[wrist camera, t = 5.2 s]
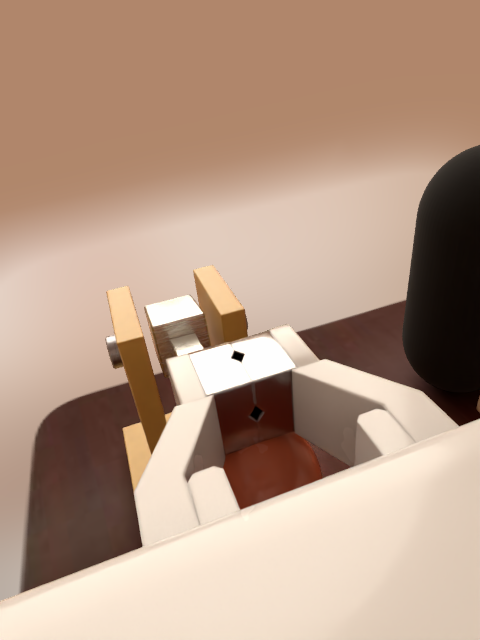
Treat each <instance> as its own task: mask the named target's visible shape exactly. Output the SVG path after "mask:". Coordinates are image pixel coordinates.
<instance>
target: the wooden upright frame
mask: <svg viewBox="0 0 480 640" xmlns="http://www.w3.org/2000/svg"><path fill="white" fill-rule="evenodd" d="M193 272H194V278H195V283H196V290H197V295H198V301H199V307H200V308H201V310H202V311H203V312H204V314H205V318H206V323H207V327H208V332H209V337H210V342H211V347H212V346H216V345H219V344H223V343H227V342H232V341H235V340H238V339H242V338H245V337H248V335H247V329H248V323H247V318H246V314H245V309H244V308H243V306H242V305H241V303H240V302H239V301H238V299H237V298H236V296H235V295H234V294H233V292H232V291H231V289H230V288H229V287H228V285H227V284H226V283H225V281H224V280H223V278H222V277H221V275H220V274H219V273H218V271H217V270H216V269H215V267H214V266H213V265H211V266H207V267H203V268H199V269H195V270H193ZM106 293H107V298H108V302H109V307H110V312H111V318H112V323H113V327H114V333H115V335H112V336H108V337H106V344H107V349H108V352H109V356H110V359H111V362H112V365H113V368H115V369H116V368H120V367H123V366H124V369H125V372H126V375H127V378H128V382H129V385H130V388H131V391H132V395H133V398H134V401H135V404H136V407H137V411H138V414H139V417H140V420H141V423H137V424H134V425H131V426H128V427H125V428H123V434H124V439H125V445H126V451H127V457H128V463H129V468H130V474H131V480H132V486H133V492H134V491H135V489H136V487H137V485H138V483H139V480H140V478H141V476H142V474H143V472H144V470H145V468H146V466H147V464H148V462H149V460H150V457H151V455H152V453H153V451H154V449H155V447H156V445H157V443H158V441H159V439H160V436H161V434H162V432H163V430H164V428H165V426H166V424H167V422H168V420H169V418H170V416H171V413H169V414H166V415H165V414H164V411H163V407H162V403H161V399H160V396H159V392H158V388H157V384H156V381H155V377H154V373H153V369H152V366H151V362H150V358H149V355H148V351H147V347H146V343H145V339H144V336H143V333H142V330H141V326H140V323H139V319H138V316H137V312H136V309H135V306H134V302H133V299H132V296H131V292H130V289H129V287H128V286H125V287H121V288H117V289H113V290H109V291H107V292H106ZM134 498H135V496H134Z"/></svg>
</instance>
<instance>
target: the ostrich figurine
mask: <svg viewBox="0 0 480 640" xmlns="http://www.w3.org/2000/svg"><path fill="white" fill-rule="evenodd" d="M476 409H477V411H478V412H479V413H480V397H479V401H478V404H477V408H476Z"/></svg>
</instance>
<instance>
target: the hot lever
mask: <svg viewBox="0 0 480 640" xmlns="http://www.w3.org/2000/svg"><path fill="white" fill-rule="evenodd" d="M144 309H145V313H146V317H147V321H148V324H149V328H150V332H151V336H152V340H153V343H154V347H155V351H156V354H157V357H158V360H159V363H160V365H161V368H162V371H163V374H164V377H165V378H168V377H169V373H168V369H167V364H166V359H169V358H172V357H176V356H179V355H183V354H186V353H187V354H188V353H190V352H193V351H197V350H201V349H204V348H208V347H211V342H210V337H209V332H208V327H207V323H206V318H205V314H204V312H203V311H202V310H201V308H200V307H199V306H198V304H197V303H196V302H195V300H194V299H193V298H192V296H191V295H187V296H183V297H179V298H175V299H171V300H167V301H164V302H159V303H155V304H152V305H148V306H145V307H144ZM225 457H226V458H225V462H224V467H223V469H224V471H225V474H226V476H227V479H228V481H229V484H230V486H231V488H232V491H233V493H234V496H235V498H236V501H237V503H238V506H239V508H240V510H241V509H244V508H247V507H249V506H252V505H254V504H257V503H260V502H262V501H265V500H268V499H270V498H273V497H275V496H278V495H281V494H283V493H286V492H288V491H291V490H294V489H296V488H299V487H302V486H304V485H307V484H309V483H312V482H315V481H317V480H320V479H323V478H322V473H321V469H320V465H319V462H318V459H317V457H316V455H315V452H314V451H313V449H312V447H311V446H310V444H309V443H308V442H307V440H306V439H304V438H302V437H301V436H299V435H297V434H296V433H295V431H294V432H291V433H288V434H285V435H282V436H278V437H275V438H272V439H269V440H266V441H263V442H260V443H257V444H254V445H252V446H249V447H246V448H244V449H241V450H239V451H236V452H233V453H231V454H228V455H225Z"/></svg>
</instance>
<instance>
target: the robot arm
mask: <svg viewBox="0 0 480 640" xmlns="http://www.w3.org/2000/svg"><path fill="white" fill-rule="evenodd" d="M166 364H167V369H168V373H169V377H170V381H171V385H172V389H173V393H174V397H175V401H176V404H177V406H176V407H174V409H173V411H172V413H171V416H170V418H169V420H168V422H167V424H166V426H165V428H164V430H163V432H162V434H161V436H160V439H159V441H158V443H157V445H156V447H155V449H154V451H153V453H152V455H151V457H150V460H149V462H148V464H147V466H146V468H145V470H144V472H143V474H142V476H141V478H140V480H139V483H138V485H137V487H136V489H135V491H134V496H135V503H136V509H137V515H138V521H139V527H140V533H141V540H142V546H143V547H142V548H139V549H136V550H134V551H131V552H128V553H126V554H123V555H121V556H118V557H115V558H113V559H110V560H107V561H105V562H102V563H100V564H97V565H94V566H92V567H89V568H86V569H84V570H81V571H79V572H76V573H73V574H71V575H68V576H65V577H63V578H60V579H58V580H55V581H52V582H50V583H47V584H44V585H42V586H39V587H37V588H34V589H31V590H29V591H26V592H23V593H21V594H18V595H16V596H13V597H10V598H8V599H5V600H2V601H0V640H480V419H478V420H475V421H472V422H470V423H467V424H465V425H462V426H458V425H457V424H456V423H455V422H454V421H453V420H452V419H451V418H450V417H449V416H448V415H447V414H446V413H445V412H443V411H442V410H441V409H440V408H439V407H438V406H437V405H436V404H435V403H434V402H433V401H432V400H431V399H430V398H429V397H428V396H427V395H426V394H425V393H423V392H422V391H419V390H416V389H413V388H410V387H407V386H404V385H401V384H398V383H395V382H392V381H389V380H386V379H383V378H380V377H377V376H374V375H371V374H368V373H365V372H362V371H359V370H356V369H353V368H350V367H347V366H344V365H341V364H338V363H335V362H332V361H329V360H326V359H324V360H321V361H320V360H319V359H318V358H317V357H316V356H315V355H314V353H313V352H312V351H311V350H310V349H309V347H308V346H307V345H306V344H305V343H304V342H303V340H302V339H301V338H300V337H299V336H298V334H297V333H296V332H295V331H294V330H293V329H292V327H291V326H290V325H287V324H285V325H282V326H279V327H276V328H272V329H270V330H267V331H265V332H262V333H259V334H255V335H252V336H249V337H245V338H242V339H238V340H235V341H232V342H227V343H223V344H219V345H216V346H212V347H208V348H204V349H201V350H197V351H193V352H190V353H188V354H187V353H186V354H183V355H179V356H176V357H172V358H169V359H166ZM294 431H295V433H296V434H297V435H299V436H301V437H302V438H304V439H306V440H307V441H309V442H311V443H312V444H314V445H316V446H317V447H319V448H321V449H322V450H324V451H326V452H327V453H329V454H331V455H332V456H334V457H336V458H337V459H339V460H341V461H342V462H344V463H346V464H347V465H349V466H351V468H349V469H346V470H344V471H341V472H338V473H336V474H333V475H330V476H328V477H325V478H323V479H320V480H317V481H315V482H312V483H309V484H307V485H304V486H302V487H299V488H296V489H294V490H291V491H288V492H286V493H283V494H281V495H278V496H275V497H273V498H270V499H268V500H265V501H262V502H260V503H257V504H254V505H252V506H249V507H247V508H244V509H241V510H240V508H239V506H238V503H237V501H236V498H235V496H234V493H233V491H232V488H231V486H230V484H229V481H228V479H227V476H226V474H225V471H224V469H223V467H224V462H225V458H226V457H225V455H228V454H231V453H233V452H236V451H239V450H241V449H244V448H246V447H249V446H252V445H254V444H257V443H260V442H263V441H266V440H269V439H272V438H275V437H278V436H282V435H285V434H288V433H291V432H294Z"/></svg>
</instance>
